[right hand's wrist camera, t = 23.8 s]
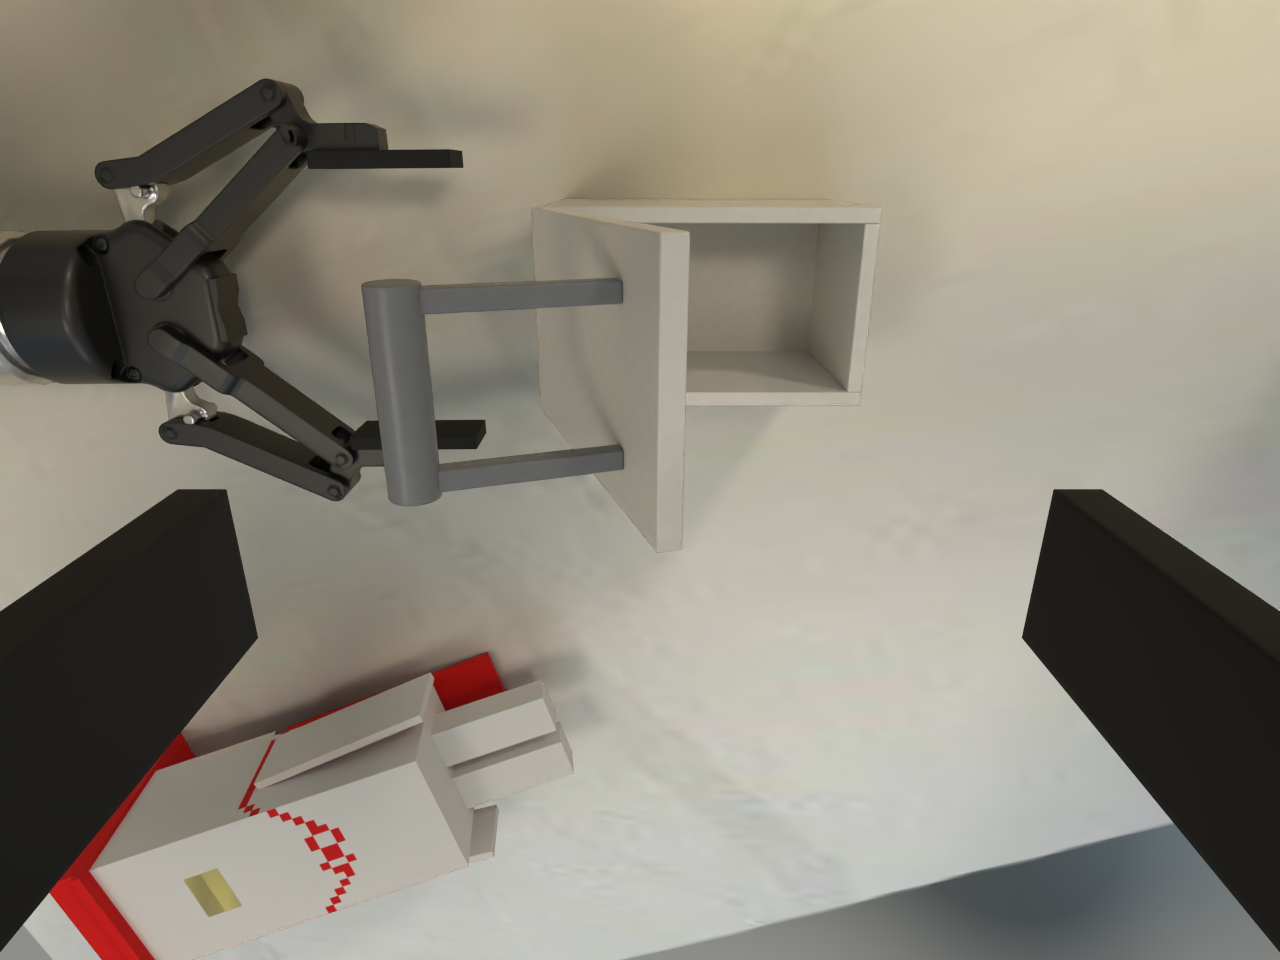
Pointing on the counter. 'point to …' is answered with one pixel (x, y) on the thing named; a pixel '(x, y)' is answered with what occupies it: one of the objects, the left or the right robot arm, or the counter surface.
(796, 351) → the chest
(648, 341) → the lid
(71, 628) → the right robot arm
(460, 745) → the toy
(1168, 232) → the counter surface
